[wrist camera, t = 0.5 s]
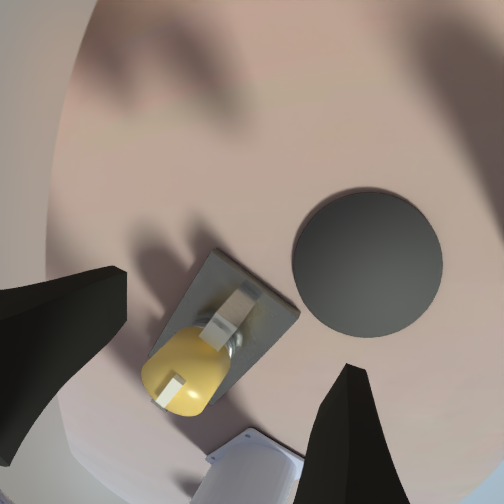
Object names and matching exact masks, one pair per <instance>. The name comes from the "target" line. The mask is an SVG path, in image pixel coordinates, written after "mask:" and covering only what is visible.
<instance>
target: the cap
mask: <svg viewBox="0 0 504 504" xmlns="http://www.w3.org/2000/svg"><path fill="white" fill-rule="evenodd" d="M203 330H204V329H202V328H199V327H185V328H182V329H180V330H179V331H178V332H177V333H176V334H175V335H174V336H173V337H172V338H171V339H170V340H169V341H168V342H167V343H166V344H165V345H163V346H162V347H161V348H160V349H159V350H158V351H157V352H156V353H155V354H154V355H153V356H152V357H151V358H150V359H149V360H148V361H147V362H146V363H145V364H144V366H143V367H142V370H141V378H142V382H143V384H144V387H145V388H146V390H147V392H148V393H149V394H150V396H151V397H152V398H153V399H154V400H155V402H157V403H158V404H159V405H160V406H162V407H163V408H165V409H167V410H169V411H171V412H173V413H175V414H178V415H182V416H195V415H198V414H200V413H201V412H202V411H203V409H204V408H205V406H206V405H207V403H208V402H209V400H210V399H211V397H212V396H213V394H214V393H215V391H216V390H217V388H218V387H219V385H220V384H221V382H222V380H223V379H224V377H225V376H226V374H227V373H228V371H229V369H230V366H231V359H230V355H229V352H228V350H227V348H226V347H225V345H223V346H222V348H221V349H220V350H219V351H216V350H215V349H214V348H212V347H211V346H210V345H209V344H207V343H206V342H205V341H203V340H202V339H201V338H200V337H198V336H199V335H200V334H201V332H202V331H203Z"/></svg>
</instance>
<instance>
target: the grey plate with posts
mask: <svg viewBox="0 0 504 504" xmlns="http://www.w3.org/2000/svg"><path fill="white" fill-rule="evenodd" d="M300 313H301V312H300V311H298V310H297V309H296V308H294V307H293V306H292V305H290V304H289V303H288V302H286V301H285V300H284V299H282V298H281V297H280V296H279V295H277V294H276V293H275V292H273V291H272V290H271V289H269V288H268V287H267V286H265V285H264V284H263V283H262V282H260V281H259V280H258V279H256V278H255V277H254V276H252V275H251V274H250V273H249V272H247V271H246V270H245V269H243V268H242V267H241V266H240V265H238V264H237V263H236V262H234V261H233V260H232V259H231V258H229V257H228V256H227V255H225V254H224V253H223V252H222V251H220V250H219V249H218V248H216V249H214V250H213V251H211V253H210V254H209V256H208V258H207V259H206V261H205V263H204V264H203V266H202V267H201V269H200V271H199V272H198V274H197V275H196V277H195V279H194V280H193V282H192V284H191V285H190V287H189V288H188V290H187V292H186V293H185V295H184V297H183V298H182V300H181V302H180V303H179V305H178V307H177V308H176V310H175V312H174V313H173V315H172V317H171V318H170V320H169V322H168V323H167V325H166V327H165V328H164V330H163V332H162V333H161V335H160V337H159V338H158V340H157V342H156V344H155V345H154V347H153V349H152V350H151V352H150V354H149V357H150V358H151V357H152V356H153V355H154V354H155V353H156V352H157V351H158V350H159V349H160V348H161V347H162V346H163V345H165V344H166V343H167V342H168V341H169V340H170V339H171V338H172V337H173V336H174V335H175V334H176V333H177V332H178V331H179V330H180V329H182V328H185V327H199V328H202V329H204V330H203V331H202V332H201V334H200V335H199V336H198V337H200V338H201V339H202V340H203V341H205V342H206V343H207V344H209V345H210V346H211V347H212V348H214V349H215V350H216V351H219V350H220V349H221V348H222V346H223V345H225V347H226V348H227V350H228V352H229V355H230V359H231V366H230V369H229V371H228V373H227V374H226V376H225V377H224V379H223V380H222V382H221V384H220V385H219V387H218V388H217V390H216V391H215V393H214V394H213V396H212V397H211V399H210V400H209V402H208V403H209V404H210V405H213V404H214V403H215V402H216V401H217V400H218V399H219V398H220V397H221V396H222V395H223V394H225V393H226V392H227V391H228V390H229V389H230V388H231V387H232V386H233V385H234V384H235V383H236V382H237V381H238V380H239V379H240V378H241V377H242V376H243V375H244V374H245V373H246V372H247V371H248V370H249V369H250V368H251V367H252V366H253V365H254V364H255V363H256V362H257V361H258V360H259V359H260V358H261V357H262V356H263V355H264V354H265V353H266V352H267V351H268V350H269V349H270V348H271V347H272V346H273V345H274V344H275V343H276V342H277V341H278V340H279V339H280V338H281V337H282V335H283V334H284V333H285V332H286V331H287V330H288V329H289V328H290V327H291V326H292V325H293V324H294V323H295V322H296V321H297V320H298V318H299V316H300ZM151 402H152V403H154V404H155V405H156V406H157V407H159V408H160V409H161V410H162V411H164V412H165V413H166V412H167V411H168V410H167V409H165V408H163V407H162V406H160V405H159V404H158V403H157V402H155V400H154V399H152V400H151Z"/></svg>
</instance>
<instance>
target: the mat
mask: <svg viewBox="0 0 504 504" xmlns="http://www.w3.org/2000/svg"><path fill="white" fill-rule="evenodd" d="M442 269H443V260H442V252H441V247H440V243H439V241H438V238H437V235H436V234H435V232H434V230H433V228H432V226H431V225H430V224H429V222H428V221H427V219H426V218H425V217H424V216H423V215H422V214H421V213H420V212H419V211H418V210H417V209H415V208H414V207H413V206H411V205H410V204H408V203H407V202H405V201H403V200H401V199H399V198H396V197H394V196H390V195H386V194H382V193H372V192H369V193H357V194H352V195H348V196H345V197H342V198H340V199H338V200H336V201H334V202H332V203H330V204H329V205H327V206H326V207H324V208H323V209H322V210H320V211H319V212H318V213H317V214H316V215H315V216H314V217H313V218H312V219H311V221H310V222H309V223H308V225H307V226H306V228H305V229H304V231H303V232H302V235H301V237H300V239H299V241H298V244H297V247H296V251H295V257H294V277H295V282H296V286H297V289H298V291H299V294H300V296H301V298H302V300H303V302H304V304H305V305H306V306H307V308H308V309H309V311H310V312H311V313H312V314H313V315H314V316H315V317H316V318H317V319H318V320H320V321H321V322H322V323H323V324H325V325H326V326H328V327H329V328H331V329H333V330H335V331H337V332H340V333H343V334H346V335H350V336H354V337H363V338H373V337H381V336H385V335H389V334H392V333H395V332H398V331H400V330H402V329H404V328H406V327H407V326H409V325H410V324H412V323H413V322H415V321H416V320H417V319H418V318H419V317H420V316H421V315H422V314H423V313H424V312H425V311H426V310H427V309H428V307H429V306H430V304H431V303H432V301H433V299H434V297H435V295H436V293H437V291H438V288H439V285H440V282H441V277H442Z"/></svg>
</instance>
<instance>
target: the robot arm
mask: <svg viewBox="0 0 504 504" xmlns="http://www.w3.org/2000/svg"><path fill="white" fill-rule="evenodd" d="M126 321H127V272H125V271H123V270H121V269H119V268H117V267H115V266H107V267H102V268H98V269H93V270H89V271H85V272H82V273H78V274H74V275H70V276H66V277H62V278H58V279H54V280H50V281H46V282H42V283H37V284H32V285H28V286H23V287H18V288H12V289H4V290H0V466H4V467H7V466H10V464H11V462H12V460H13V458H14V456H15V454H16V452H17V450H18V448H19V447H20V445H21V443H22V441H23V440H24V438H25V436H26V435H27V433H28V432H29V430H30V428H31V427H32V425H33V424H34V422H35V421H36V419H37V418H38V417H39V415H40V414H41V413H42V411H43V409H44V408H45V407H46V406H47V404H48V403H49V402H50V401H51V400H52V398H53V397H54V396H55V395H56V393H57V392H58V391H59V390H60V388H61V387H62V386H63V385H64V384H65V383H66V382H67V381H68V380H69V379H70V378H71V377H72V376H73V375H75V374H76V373H77V372H78V371H79V370H80V369H81V368H82V367H83V366H84V365H85V364H86V363H87V362H88V361H90V360H91V359H92V358H93V357H94V356H95V355H96V354H97V353H98V352H99V351H100V350H101V349H102V348H103V347H105V346H106V345H107V344H108V343H109V342H110V341H111V339H112V338H113V337H114V336H115V335H116V333H117V332H118V331H119V330H120V328H121V327H122V326H123V325H124V323H125V322H126ZM205 460H206V461H207V462H208V463H210V464H212V465H211V467H210V469H209V470H208V472H207V474H206V476H205V477H204V479H203V481H202V483H201V484H200V486H199V488H198V489H197V491H196V493H195V494H194V496H193V498H192V499H191V501H190V504H286V503H287V500H288V497H289V494H290V491H291V488H292V485H293V482H294V481H295V480H297V479H299V478H300V481H299V484H298V488H297V492H296V496H295V499H294V502H293V504H410V502H409V500H408V498H407V496H406V494H405V491H404V489H403V487H402V484H401V482H400V480H399V477H398V475H397V472H396V469H395V467H394V464H393V461H392V458H391V455H390V452H389V450H388V446H387V443H386V440H385V437H384V434H383V430H382V427H381V424H380V420H379V417H378V413H377V410H376V406H375V402H374V398H373V395H372V391H371V387H370V383H369V379H368V375H367V372H366V370H365V369H362V368H359V367H356V366H353V365H350V364H347V363H346V365H345V366H344V368H343V370H342V371H341V373H340V375H339V376H338V378H337V380H336V381H335V383H334V384H333V386H332V388H331V389H330V391H329V392H328V394H327V395H326V397H325V399H324V400H323V402H322V403H321V405H320V407H319V410H318V413H317V416H316V419H315V422H314V425H313V428H312V431H311V434H310V438H309V443H308V447H307V451H306V456H305V459H303V458H301V457H300V456H298V455H296V454H294V453H293V452H291V451H289V450H288V449H286V448H284V447H283V446H281V445H279V444H278V443H276V442H274V441H273V440H271V439H270V438H268V437H266V436H265V435H263V434H262V433H260V432H258V431H257V430H255V429H253V428H248V429H246V430H245V431H243V432H242V433H241V434H239V435H238V436H236V437H235V438H233V439H232V440H230V441H229V442H228V443H226V444H225V445H223V446H222V447H220V448H219V449H217V450H215V451H214V452H212V453H211V454H209V455H208V456H207V457H206V458H205ZM0 504H14V503H13V502H12V501H11V500H10V499H9V498H8V497H7V496H6V495H5V494H4V493H3V492H2V491H1V490H0Z"/></svg>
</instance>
